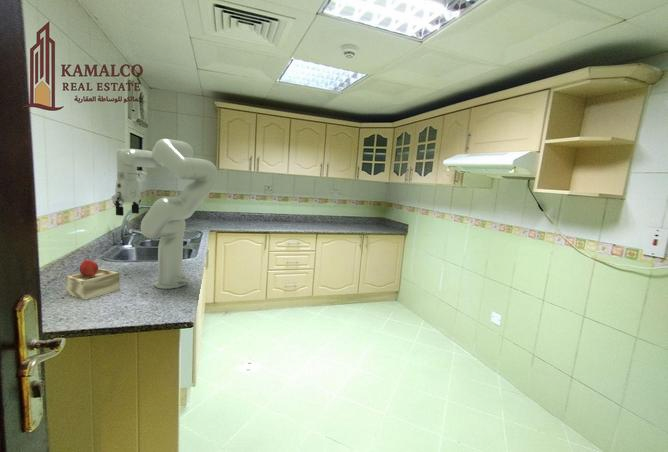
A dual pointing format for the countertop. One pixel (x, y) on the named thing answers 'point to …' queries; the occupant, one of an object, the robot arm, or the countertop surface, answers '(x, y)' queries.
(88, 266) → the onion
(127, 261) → the countertop surface
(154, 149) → the robot arm
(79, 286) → the birch box
